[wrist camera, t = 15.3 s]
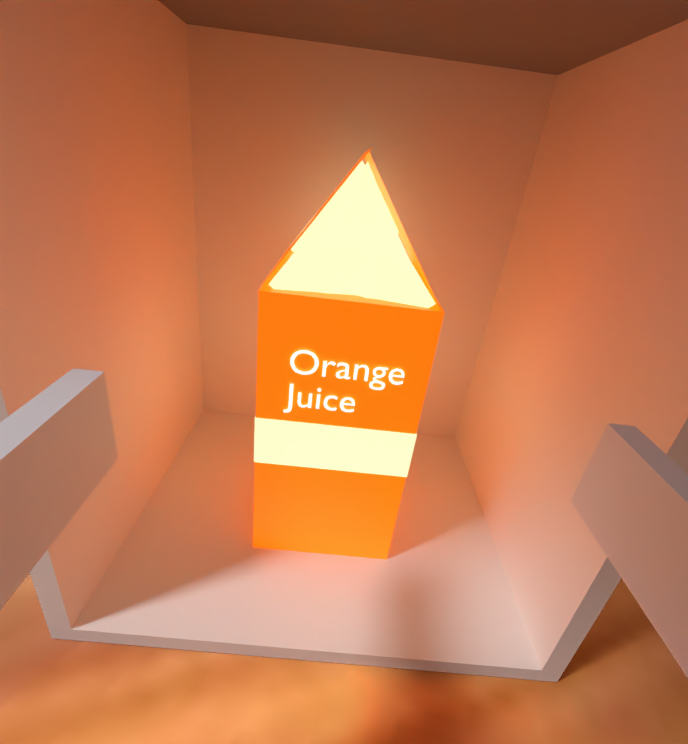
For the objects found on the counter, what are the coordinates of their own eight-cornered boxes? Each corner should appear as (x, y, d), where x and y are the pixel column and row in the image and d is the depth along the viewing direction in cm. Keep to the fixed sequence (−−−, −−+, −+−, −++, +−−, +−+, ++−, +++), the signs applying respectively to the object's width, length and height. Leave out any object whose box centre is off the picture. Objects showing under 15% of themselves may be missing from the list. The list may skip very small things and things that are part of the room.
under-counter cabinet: (-7, 686, 17) (-752, -865, 4) (184, 409, 35) (154, -22, 23) (601, 737, 18) (1514, -420, 5) (472, 440, 36) (596, 40, 24)
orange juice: (379, 459, 31) (436, 161, 22) (389, 561, 23) (484, 161, 14) (274, 449, 31) (289, 142, 22) (248, 548, 23) (255, 131, 14)
